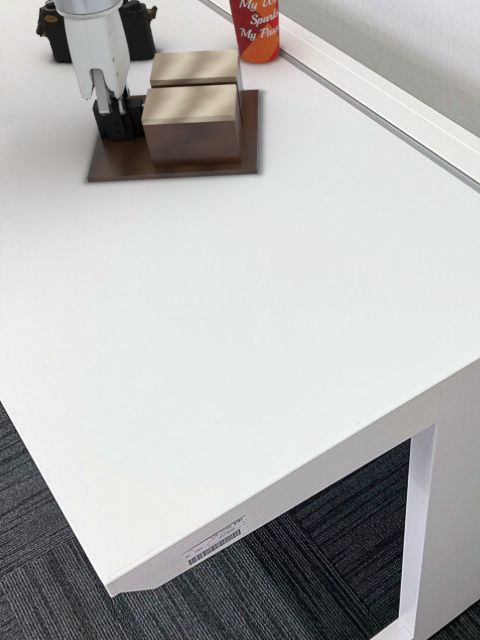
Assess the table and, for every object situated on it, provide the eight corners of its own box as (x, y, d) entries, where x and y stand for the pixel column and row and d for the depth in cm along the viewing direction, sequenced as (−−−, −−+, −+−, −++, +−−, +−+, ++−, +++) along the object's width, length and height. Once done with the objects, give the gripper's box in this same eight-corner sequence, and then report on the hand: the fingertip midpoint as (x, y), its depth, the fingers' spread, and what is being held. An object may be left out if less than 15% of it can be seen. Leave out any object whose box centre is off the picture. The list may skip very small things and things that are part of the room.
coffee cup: (250, 75, 112) (238, -31, 101) (222, 53, 117) (207, -51, 105) (298, 57, 115) (291, -47, 104) (269, 37, 120) (259, -66, 109)
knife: (101, 138, 100) (92, 108, 97) (103, 129, 101) (94, 99, 98) (238, 132, 101) (234, 102, 97) (239, 122, 102) (235, 92, 99)
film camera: (154, 22, 124) (141, -42, 116) (170, 58, 116) (156, -9, 108) (42, 42, 120) (20, -23, 112) (50, 80, 112) (27, 13, 105)
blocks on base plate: (89, 184, 95) (71, 129, 89) (110, 102, 108) (95, 50, 102) (257, 175, 96) (250, 120, 90) (259, 95, 108) (253, 42, 103)
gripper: (65, -36, 92) (104, 102, 106) (39, 26, 82) (85, 170, 95) (128, -39, 92) (159, 99, 106) (109, 23, 82) (146, 167, 96)
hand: (124, 132), depth 101 cm, fingers closed on knife, 2 cm apart
